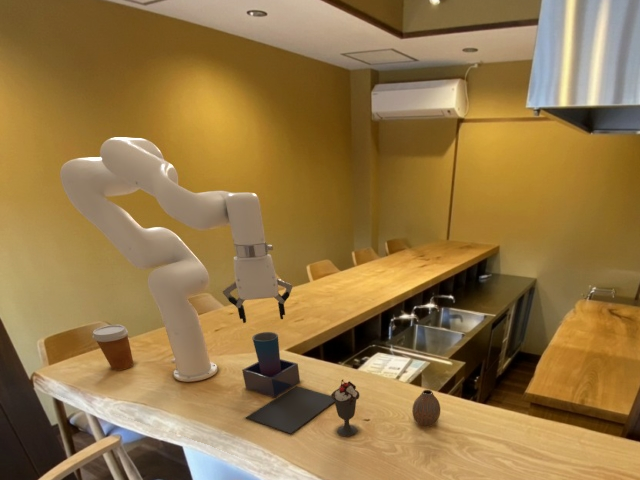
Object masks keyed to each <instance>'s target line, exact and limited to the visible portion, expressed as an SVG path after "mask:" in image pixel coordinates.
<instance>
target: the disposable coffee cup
mask: <svg viewBox="0 0 640 480" xmlns="http://www.w3.org/2000/svg"><path fill="white" fill-rule="evenodd" d="M92 334H93V335H92V338H93V339H94V340H95V341H96V343H97V345H98V347H99V348H100V350H101V352H102V354H103V356H104V357H105V359H106V360H107V363H108V365H109V366H110V368H111V370H115V371H122V370H126V369H130V368H131V367H133V366H134V364H135V363H134V358H133V354H132V349H131V345H130V340H129V339H130V338H129V330H128V329H127V328H126V327H125V325H122V324H110V325H105V326H101V327H98V328H96V329H94V330H93V331H92Z"/></svg>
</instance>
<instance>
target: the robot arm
mask: <svg viewBox="0 0 640 480" xmlns="http://www.w3.org/2000/svg"><path fill="white" fill-rule="evenodd" d="M99 155H100V156H99V157H78V158H74V159H70V160H67V161H66V162H65V163H63V165H62V166H61V169H60V172H59V176H60V182H61V186H62V188H63V190H64V192H65V194H66V197H67V199H68V200H69V201H70V203H71V204H72V206H73V207H74V208H75V210H77V212H78V213H80V214H81V216H83V217H84V218H85V219H86V220H87V221H89V223H90V224H92V225H93V226H94V227H96V228H97V229H98V230H99V232H101V233H102V235H104V236H105V237H106V239H107V240H108V241H109V242H110V243H111V245H113V247H115V249H116V250H117V251H118V252H119V253H120V254H121V255H122V256H123V257H124V258H125V259H126V260H127V261H128V262H129V263H130V264H131V265H132V266H133V267H134V268H136V269H138V270H145V271H146V270H151V269H153V270H152V271H151V272H150V273H149V274H148V277H147V287H148V290H149V293H150V294H151V296H152V298H153V300H154V302H155V303H156V306H157V308H158V310H159V313H160V316H161V319H162V322H163V325H164V328H165V332H166V335H167V339H168V342H169V344H170V347H171V351H172V354H173V358H172V359H171V360H170V361H171V363H172V364H175V367H176V368H175V370H174V371H173V377H174V379H175V380H177V381H180V382H185V383H186V382H187V383H188V382H190V383H191V382H199V381H203V380H207V379H209V378H211V377H213V376H214V375H216V374H217V372H218V370H219V369H218V365H217V364H216V363H214V362H211V359H210V355H209V352H208V351H209V350H208V347H207V343H206V339H205V335H204V331H203V328H202V323H201V319H200V315H199V313H198V311H197V309H196V308H195V307H194V305H193V304H192V303H191V302H190V301H189V299H190V298H192V297H194V296H197V295H199V294H201V293H203V292H205V291H206V290H208V288H209V286H210V283H211V280H210V275H209V272H208V270H207V268H206V266H205V265H204V264H203V262H201V260H200V259H199V258H198V257H197V256H196V255H195V253H194V252H192V250H191V249H190V248H189V247H188V246H187V244H186V243H185V242H184V241H183V240H182V239H181V238H180V237H179V236H178V235H177V233H175V232H173V231H172V230H170V229H168V228H166V227H163V226H155V227H149V228H145V227H142V226H141V225H140V224H139V223H138V222H137V221H136V220H135V219H134V218H133V217H132V215H131V214H130V213H129V212H128V211H126V210H125V209H124V208H123V207H122V206H119V205H118V204H117V203H114V202H113V201H111V200H109V199H108V198H107V197H118V196H125V195H130V194H133V193H135V192H137V191H139V190H141V191H143V192H145V193H146V194H148V195H150V196H152V197H153V198H155V199H156V201H157V203H158V204H159V206H160V207H161V209H162V210H163V211H164V212H165V213H166V214H167V215H168V216H169V217H171V218H172V219H174V220H176V221H178V222H179V223H181V224H183V225H185V226H186V227H189V228H191V229H194V230H197V231H210V230H213V229H218V228H225V227H228V226H229V227H230V231H231V237H232V241H233V245H234V247H233V248H234V252H235V256H233V271H234V279H235V281H234V282H233V283H230V284H228V286H226V287H224V288H223V289H222V294H223V296H224V297H225V298H226V299H227V300H228V302H229V303H231V304H232V305H234V306H235V308H237V313H238V318H239V320H242V323H243V324H246V323H247V315H246V311H245V306H244V305H243V304H244V302H245V301H250V300H264V299H273V298H274V299H275V300H276V301H277V304H278V305H277V306H278V312H279V313H278V314H279V317H280V318H279V319H280V320H284V316H286V310H285V302H286V301H287V299H289V297H290V295H291V293H292V289H293V285H292V283H290V282H288V281H284V280H283V279H280V278H277V272H276V267H275V263H274V260H273V258H272V255H271V254H269V252H271V251H274V248H273V244H269V243H268V242H266V235H265V228H264V222H263V221H264V220H263V215H262V209H261V202H260V198H259V196H258V195H257V194H256V193H254V192H249V191H246V192H232V191H231V192H230V191H226V190H213V191H203V192H193V191H191V190H189V189H186V188H184V187H183V186H181V185H179V174H178V171H177V169H176V168H175V166H173V164H171V163H170V162H168V161H167V160H166V159H164V155H163V154H162V152H161V150H160V149H159V148H158V146H157V145H155V144H154V143H153V142H152V141H150V140H149V139H145V138H141V137H111V138H108V139H107V140H105V141H104V142H103V143H102V145H101V146H100V148H99ZM154 268H155V269H154ZM279 286H280V287H282V288H284V289H285V291H284V292H283V293H282V295H281V294H280V293H279V292H280V291H279ZM235 290H236V291H237V295H238V298H236V297H235V296H233V295H232V294H231V293H232V292H233V291H235Z"/></svg>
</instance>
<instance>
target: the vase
mask: <svg viewBox="0 0 640 480" xmlns="http://www.w3.org/2000/svg"><path fill="white" fill-rule="evenodd" d="M411 413H412V417H413V421H415V422H416V424H418V425H419V426H421V427H424V428H427V427H431V426H434V425H435V424H436V423H437V422H438V421H439V418H440V416H441V404H440V402H439V400H438V398H437V397H436V396H435V395H434V393H433V391H432V390H431V389H424V390H422V392H421V393H420V394H419V395H418V396H417V397H416V398H415V400H414V402H413V404H412V412H411Z"/></svg>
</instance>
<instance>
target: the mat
mask: <svg viewBox="0 0 640 480" xmlns="http://www.w3.org/2000/svg"><path fill="white" fill-rule="evenodd" d="M333 404H335V401H334V400H333V399H332V398H331V395H329V394H325V393H322V392H319V391H316V390H312V389H308V388H305V387H302V386H298V385H295V386H293V387H291V388H290V389H288V390H287V391H285V392H283V393H282V394H280V395H279V396H277V397H275V398H274V399H273V400H271V401H269V402H268V403H266V404H265V405H263V406H262V407H260V408H258V409H256V410H255V411H254V412H252V413H249V415H247V416H246V417H245V419H246V420H248V421H251V422H254V423H257V424H260V425H263V426H265V427H268V428H271V429H274V430H277V431H279V432H282V433H285V434H288V435H293V434H294V433H296V432H298V431H299V430H300V429H301V428H303V427H304V426H305V425H306V424H308V423H309V422H310V421H312V420H313V419H314V418H316V417H317V416H318V415H320V414H321V413H323V412H324V411H325V410H327V409H328V408H330V406H332V405H333Z"/></svg>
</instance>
